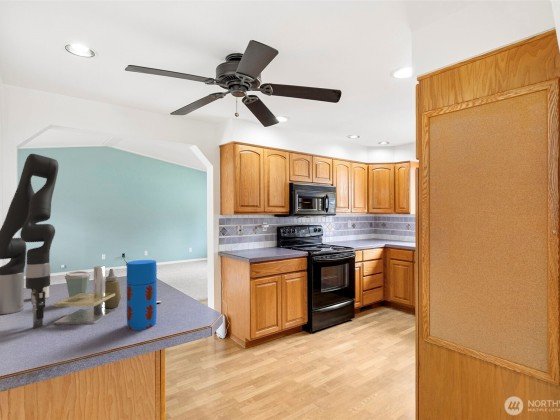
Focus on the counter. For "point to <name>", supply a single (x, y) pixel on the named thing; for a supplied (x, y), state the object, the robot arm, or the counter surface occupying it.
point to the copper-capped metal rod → (35, 322)
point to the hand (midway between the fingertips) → (38, 316)
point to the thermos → (141, 294)
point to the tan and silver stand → (88, 302)
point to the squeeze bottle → (112, 290)
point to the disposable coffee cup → (77, 282)
